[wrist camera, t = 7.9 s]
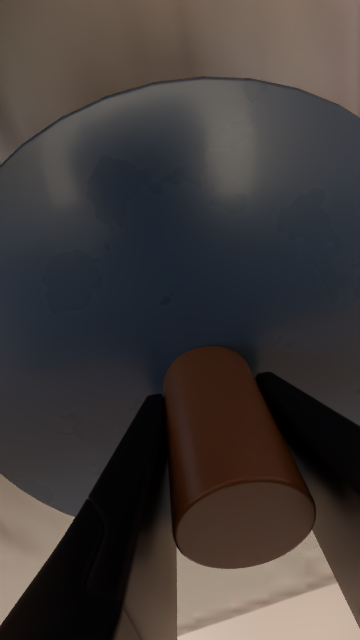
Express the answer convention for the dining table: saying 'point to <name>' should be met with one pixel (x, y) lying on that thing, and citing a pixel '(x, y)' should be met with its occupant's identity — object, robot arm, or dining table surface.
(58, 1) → the dining table surface
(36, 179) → the pot lid
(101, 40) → the dining table surface
